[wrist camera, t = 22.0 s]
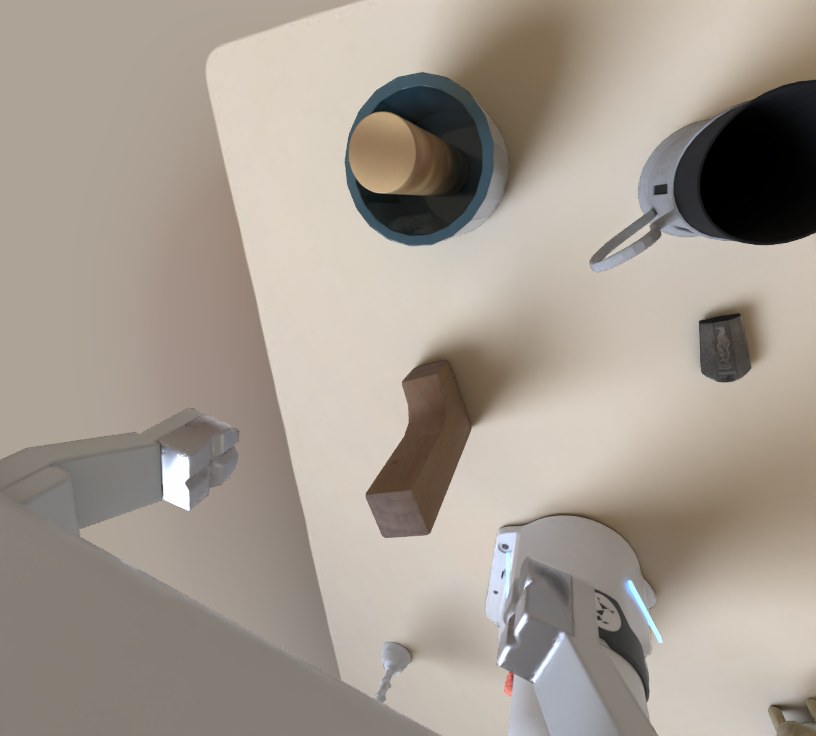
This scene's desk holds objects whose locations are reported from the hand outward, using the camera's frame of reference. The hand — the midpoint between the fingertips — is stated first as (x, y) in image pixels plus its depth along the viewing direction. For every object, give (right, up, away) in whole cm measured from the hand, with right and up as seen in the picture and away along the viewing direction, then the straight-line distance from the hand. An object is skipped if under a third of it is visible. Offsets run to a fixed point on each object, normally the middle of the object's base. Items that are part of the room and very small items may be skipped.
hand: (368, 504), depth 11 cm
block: (+29, +6, +27) cm, 40 cm away
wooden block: (+5, 0, +38) cm, 39 cm away
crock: (+5, +22, +29) cm, 37 cm away
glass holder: (+23, +18, +25) cm, 38 cm away
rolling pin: (+5, +22, +28) cm, 36 cm away
